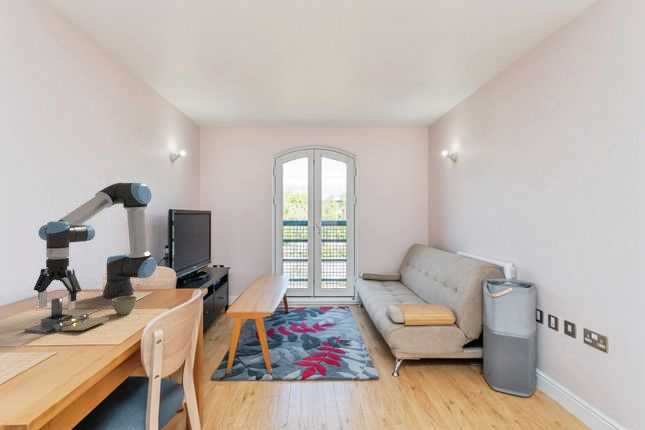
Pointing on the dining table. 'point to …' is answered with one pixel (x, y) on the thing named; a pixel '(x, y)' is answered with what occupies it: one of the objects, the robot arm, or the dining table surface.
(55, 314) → the pin
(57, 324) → the hinge base
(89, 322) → the brass leaf
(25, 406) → the dining table surface
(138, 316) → the dining table surface
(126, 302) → the flower pot
